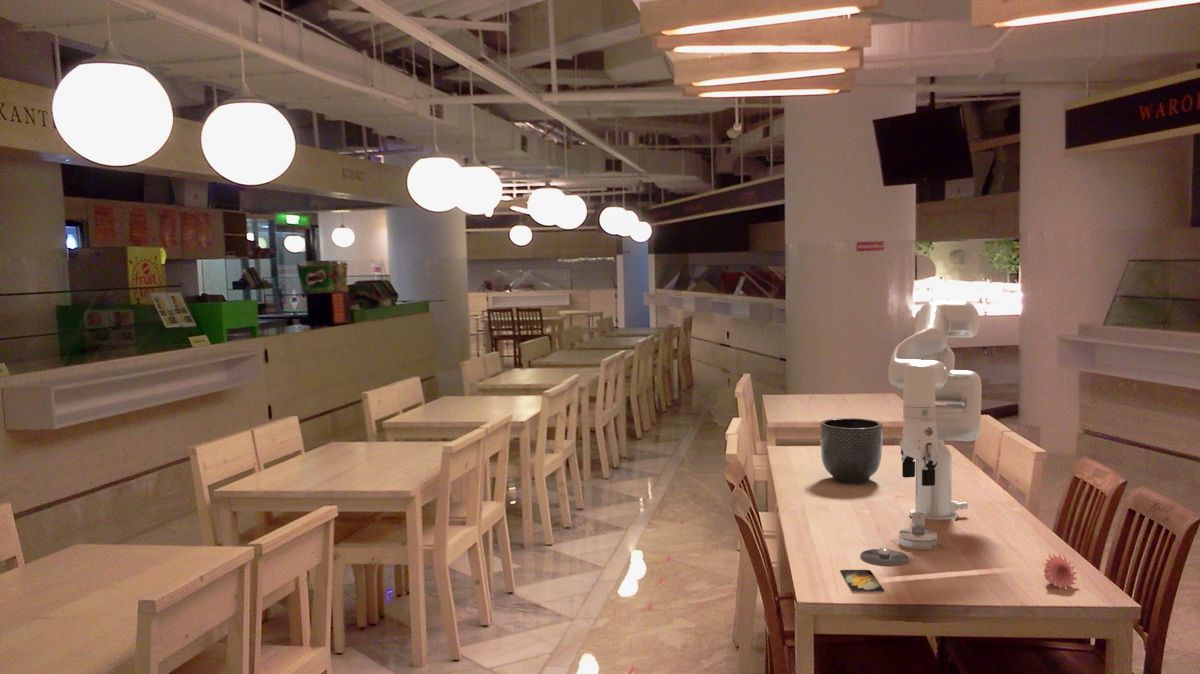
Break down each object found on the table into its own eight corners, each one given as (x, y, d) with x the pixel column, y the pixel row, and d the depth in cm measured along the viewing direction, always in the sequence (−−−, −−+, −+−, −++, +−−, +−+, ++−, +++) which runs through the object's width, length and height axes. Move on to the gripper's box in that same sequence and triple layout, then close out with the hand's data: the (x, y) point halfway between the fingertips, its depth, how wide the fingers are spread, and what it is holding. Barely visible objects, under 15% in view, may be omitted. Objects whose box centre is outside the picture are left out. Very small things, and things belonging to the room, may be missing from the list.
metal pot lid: (894, 553, 232) (894, 541, 232) (916, 567, 221) (917, 555, 221) (852, 556, 230) (853, 544, 230) (873, 571, 220) (873, 558, 219)
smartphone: (870, 569, 220) (885, 591, 206) (870, 572, 220) (885, 594, 206) (839, 569, 221) (852, 591, 206) (839, 572, 221) (852, 594, 206)
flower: (1036, 552, 213) (1050, 545, 208) (1069, 566, 212) (1084, 559, 207) (1032, 584, 209) (1046, 578, 204) (1065, 599, 208) (1081, 592, 203)
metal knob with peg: (925, 537, 241) (925, 508, 240) (944, 548, 232) (944, 517, 231) (892, 540, 239) (892, 510, 239) (910, 551, 231) (910, 520, 230)
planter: (859, 471, 319) (859, 416, 318) (895, 484, 301) (895, 425, 299) (808, 476, 313) (808, 420, 312) (841, 490, 295) (841, 430, 293)
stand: (926, 541, 242) (926, 531, 241) (946, 552, 232) (947, 542, 232) (890, 543, 240) (890, 533, 240) (909, 555, 230) (909, 545, 230)
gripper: (951, 417, 225) (950, 488, 226) (915, 407, 242) (915, 473, 243) (922, 418, 224) (921, 489, 225) (888, 408, 241) (887, 474, 242)
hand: (918, 481), depth 234 cm, fingers open, 9 cm apart
